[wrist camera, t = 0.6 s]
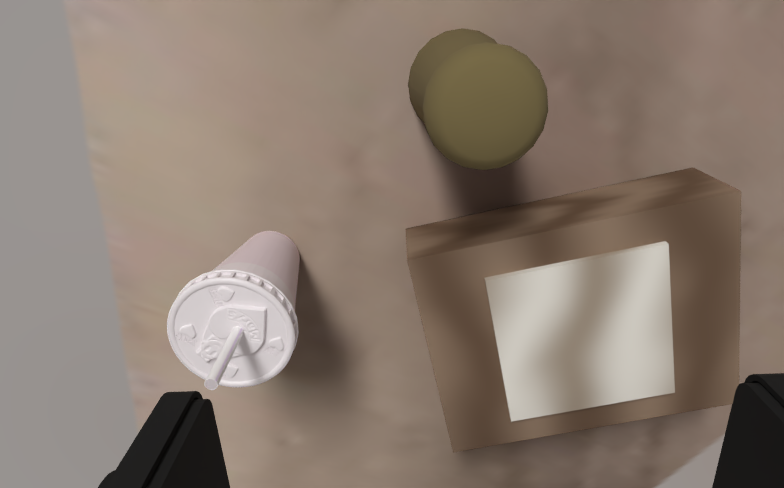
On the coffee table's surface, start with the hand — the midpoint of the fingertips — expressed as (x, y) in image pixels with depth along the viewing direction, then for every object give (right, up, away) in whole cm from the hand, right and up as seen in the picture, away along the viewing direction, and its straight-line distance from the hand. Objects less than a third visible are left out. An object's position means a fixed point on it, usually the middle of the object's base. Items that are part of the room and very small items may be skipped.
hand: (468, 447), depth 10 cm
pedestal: (+10, 0, +27) cm, 29 cm away
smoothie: (-9, +3, +26) cm, 28 cm away
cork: (+3, +13, +22) cm, 26 cm away
